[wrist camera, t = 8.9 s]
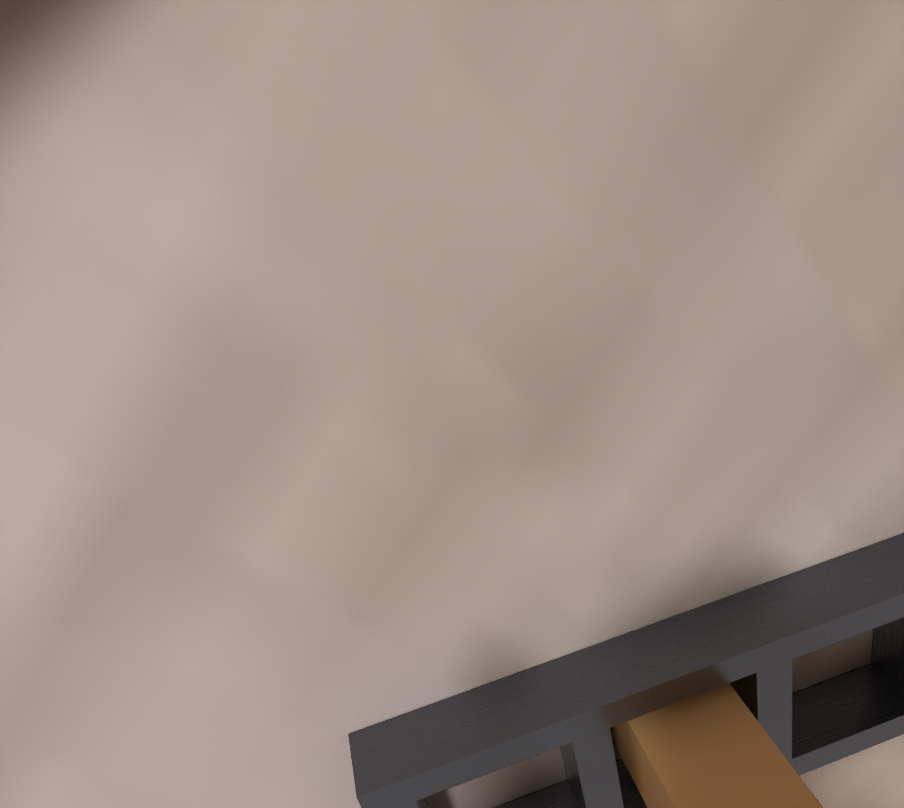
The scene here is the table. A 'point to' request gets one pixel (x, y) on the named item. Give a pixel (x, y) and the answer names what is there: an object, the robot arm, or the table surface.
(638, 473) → the table surface
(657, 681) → the rail
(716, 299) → the table surface
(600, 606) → the table surface
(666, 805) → the orange peg
